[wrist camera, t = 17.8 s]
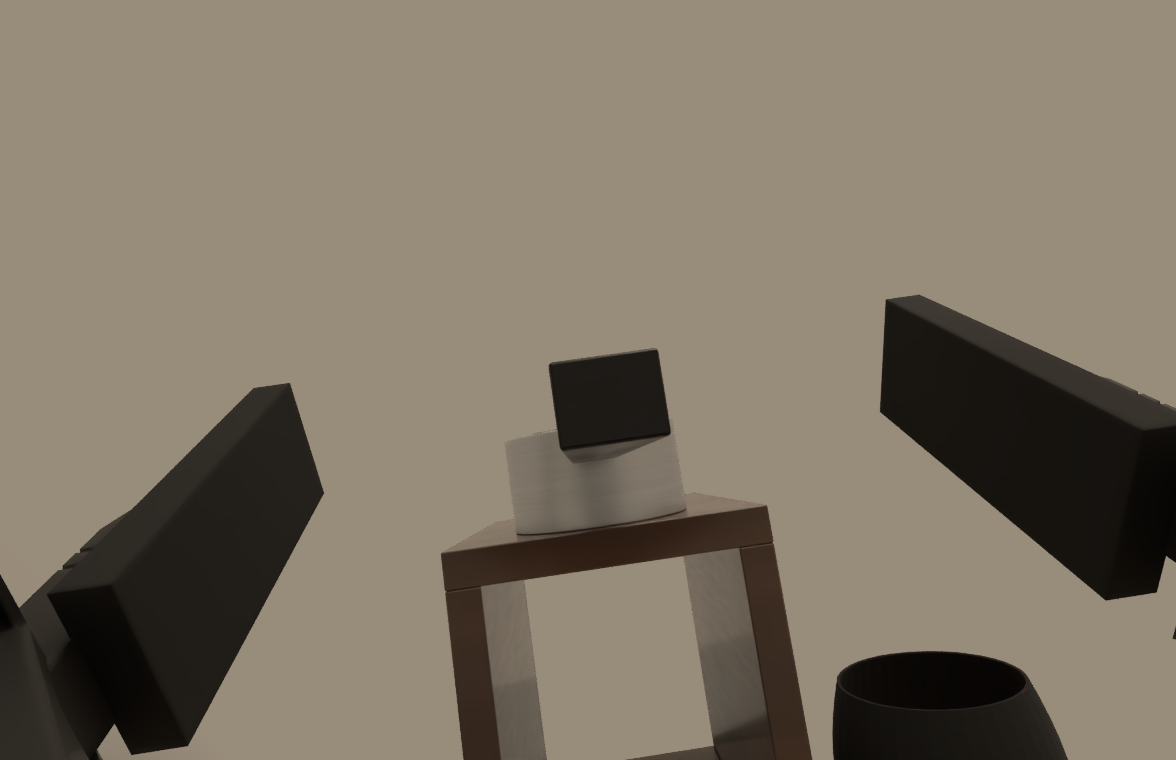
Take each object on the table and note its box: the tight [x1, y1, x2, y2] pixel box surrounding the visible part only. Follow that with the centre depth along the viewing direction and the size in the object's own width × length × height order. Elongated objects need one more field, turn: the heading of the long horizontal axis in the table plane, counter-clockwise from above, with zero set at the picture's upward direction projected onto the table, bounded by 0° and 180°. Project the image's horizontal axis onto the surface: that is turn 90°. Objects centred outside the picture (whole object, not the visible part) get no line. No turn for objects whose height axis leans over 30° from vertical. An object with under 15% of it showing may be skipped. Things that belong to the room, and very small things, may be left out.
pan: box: [505, 348, 686, 535], centre depth 25 cm, size 26×8×5 cm, turn 1°
